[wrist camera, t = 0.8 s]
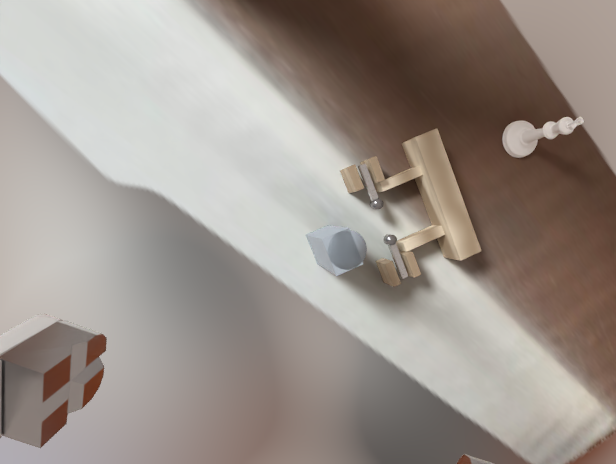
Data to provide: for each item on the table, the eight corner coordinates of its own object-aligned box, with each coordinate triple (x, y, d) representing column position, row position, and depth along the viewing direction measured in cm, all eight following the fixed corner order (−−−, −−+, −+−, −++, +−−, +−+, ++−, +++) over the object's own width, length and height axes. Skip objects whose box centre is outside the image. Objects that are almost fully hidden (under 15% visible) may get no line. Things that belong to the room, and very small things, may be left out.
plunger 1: (372, 210, 47) (375, 210, 46) (355, 167, 46) (358, 166, 45) (381, 206, 47) (384, 206, 46) (364, 163, 47) (367, 162, 45)
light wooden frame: (384, 284, 50) (396, 290, 46) (339, 168, 48) (347, 164, 44) (463, 248, 52) (481, 251, 48) (421, 135, 50) (437, 128, 46)
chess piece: (495, 137, 52) (554, 118, 42) (520, 113, 52) (584, 89, 42) (516, 165, 53) (580, 153, 43) (541, 141, 53) (609, 124, 43)
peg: (317, 264, 48) (336, 276, 39) (305, 234, 48) (321, 239, 38) (346, 251, 49) (372, 260, 39) (334, 222, 49) (357, 223, 39)
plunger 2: (398, 278, 48) (402, 279, 47) (382, 236, 47) (385, 237, 46) (406, 274, 48) (411, 275, 47) (390, 233, 48) (394, 233, 46)
